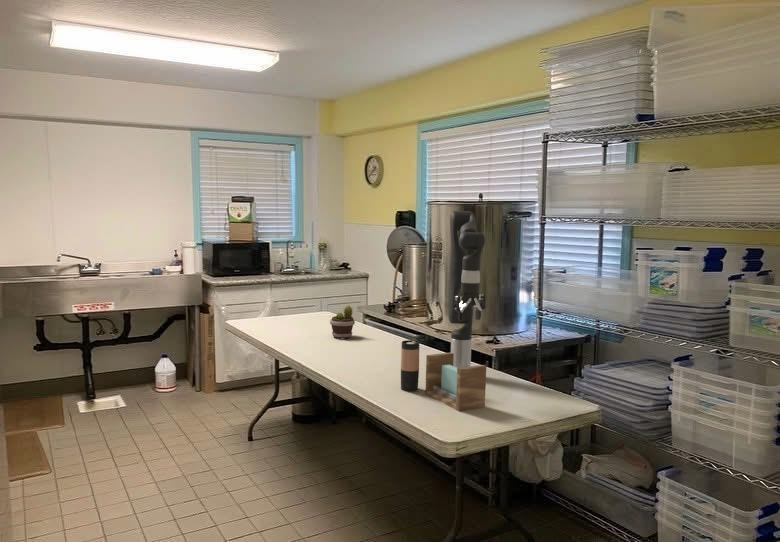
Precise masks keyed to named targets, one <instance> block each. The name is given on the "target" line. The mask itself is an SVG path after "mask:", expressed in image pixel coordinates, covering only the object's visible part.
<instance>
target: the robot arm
mask: <svg viewBox="0 0 780 542" xmlns="http://www.w3.org/2000/svg"><path fill="white" fill-rule="evenodd" d="M476 226H477V225H476V216H475V214H474V212H473V211H469V210H453V211H451V213H450V217H449V230H450V232H449V233H450V258H449V282H450V283H449V285H450V286H449V287H450V288H449V300H448V301H449V302H448V320H449V323H450V324H453V325H454V324H455V325H456V324H461V325H462V324H463V325H462V326H461V327H459V328H457V329H454V330H452V331H451V334H450V353H454V362H453V366H454V367H456V368H463V367H471V362H472V361H471V360H472V334H473V333H472V332H473V320H474V317H475V320H476V321H480V320H481V318H482V310H485V309H486V295H485V294H481V293H480V288H481V285H480V283H481V274H480V271H481V270H480V268H481V265H480V264H481V258H482V254H483V249H484V247H485V244H486V237H485V235H484V234H483V232H478V230H477V227H476ZM458 232H459V234H458ZM468 250H473V251H474V253H472V254H469V255H468V253H467V251H468ZM460 293H461V295H459V294H460ZM474 308H475V316H474Z"/></svg>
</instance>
